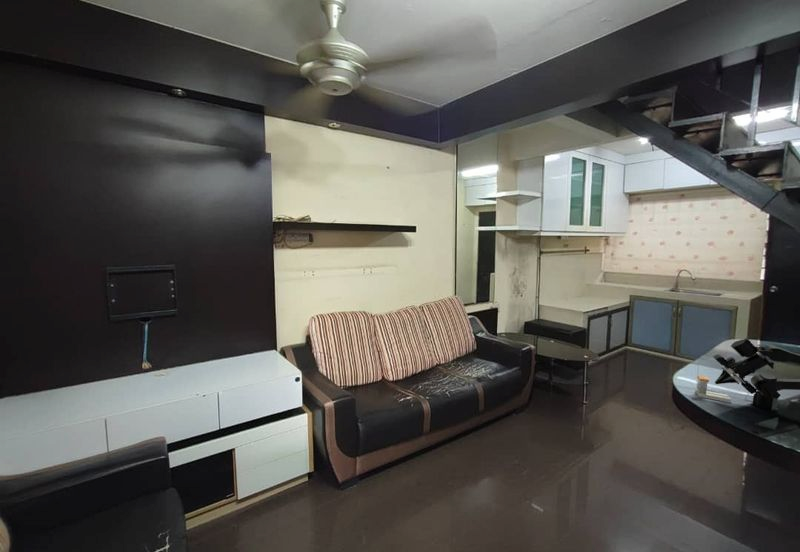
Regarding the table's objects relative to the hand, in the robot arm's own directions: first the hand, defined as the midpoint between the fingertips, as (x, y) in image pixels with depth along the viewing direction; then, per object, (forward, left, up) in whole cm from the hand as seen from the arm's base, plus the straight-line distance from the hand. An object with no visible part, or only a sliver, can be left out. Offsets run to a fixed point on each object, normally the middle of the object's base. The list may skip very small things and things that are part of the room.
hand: (715, 383), depth 163 cm
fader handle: (+3, +3, -5) cm, 7 cm away
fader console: (0, 0, -7) cm, 7 cm away
